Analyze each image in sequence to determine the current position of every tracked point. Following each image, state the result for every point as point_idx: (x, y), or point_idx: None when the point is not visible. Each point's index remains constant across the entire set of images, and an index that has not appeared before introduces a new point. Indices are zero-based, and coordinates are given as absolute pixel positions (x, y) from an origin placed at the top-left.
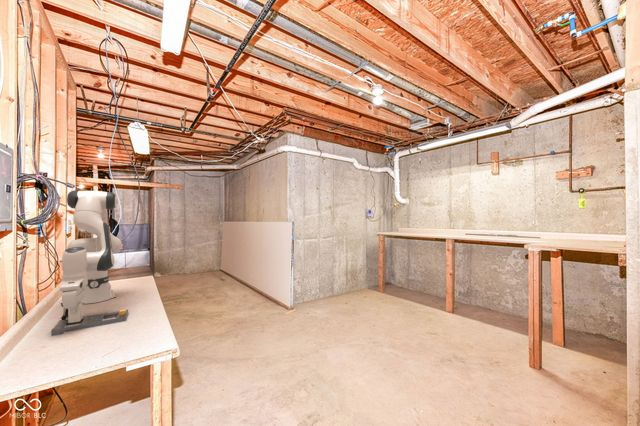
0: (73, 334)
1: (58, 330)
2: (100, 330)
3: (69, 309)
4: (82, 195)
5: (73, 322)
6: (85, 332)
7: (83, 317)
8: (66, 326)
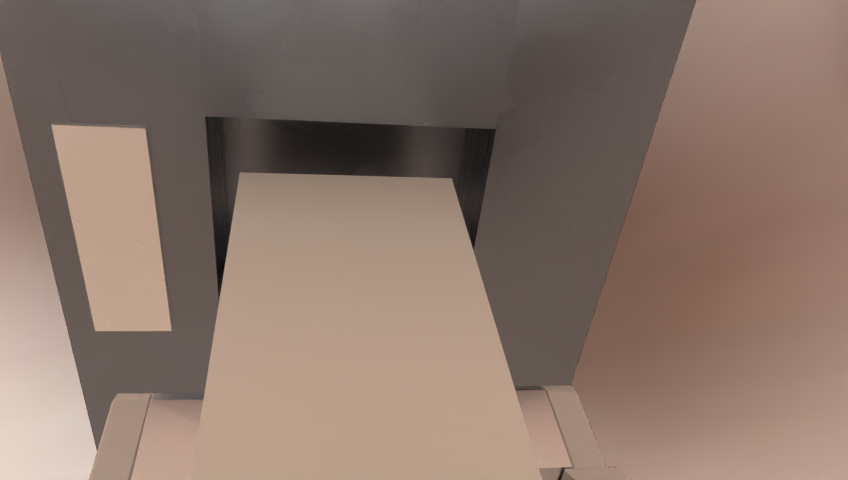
0: (11, 195)
1: (3, 14)
2: (31, 452)
3: (193, 473)
4: None
5: (478, 171)
6: (32, 323)
7: (559, 307)
8: (94, 155)
